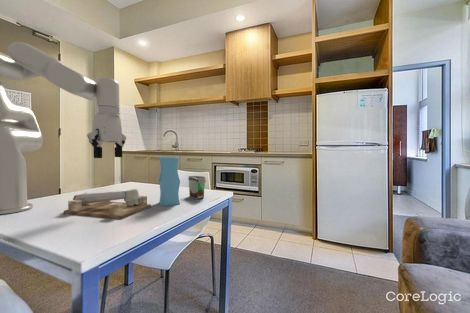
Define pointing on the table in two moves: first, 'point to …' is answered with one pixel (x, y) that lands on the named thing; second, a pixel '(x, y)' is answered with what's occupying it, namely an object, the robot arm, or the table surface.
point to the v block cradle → (106, 208)
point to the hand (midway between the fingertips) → (108, 157)
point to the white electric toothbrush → (111, 197)
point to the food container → (196, 187)
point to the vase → (169, 181)
